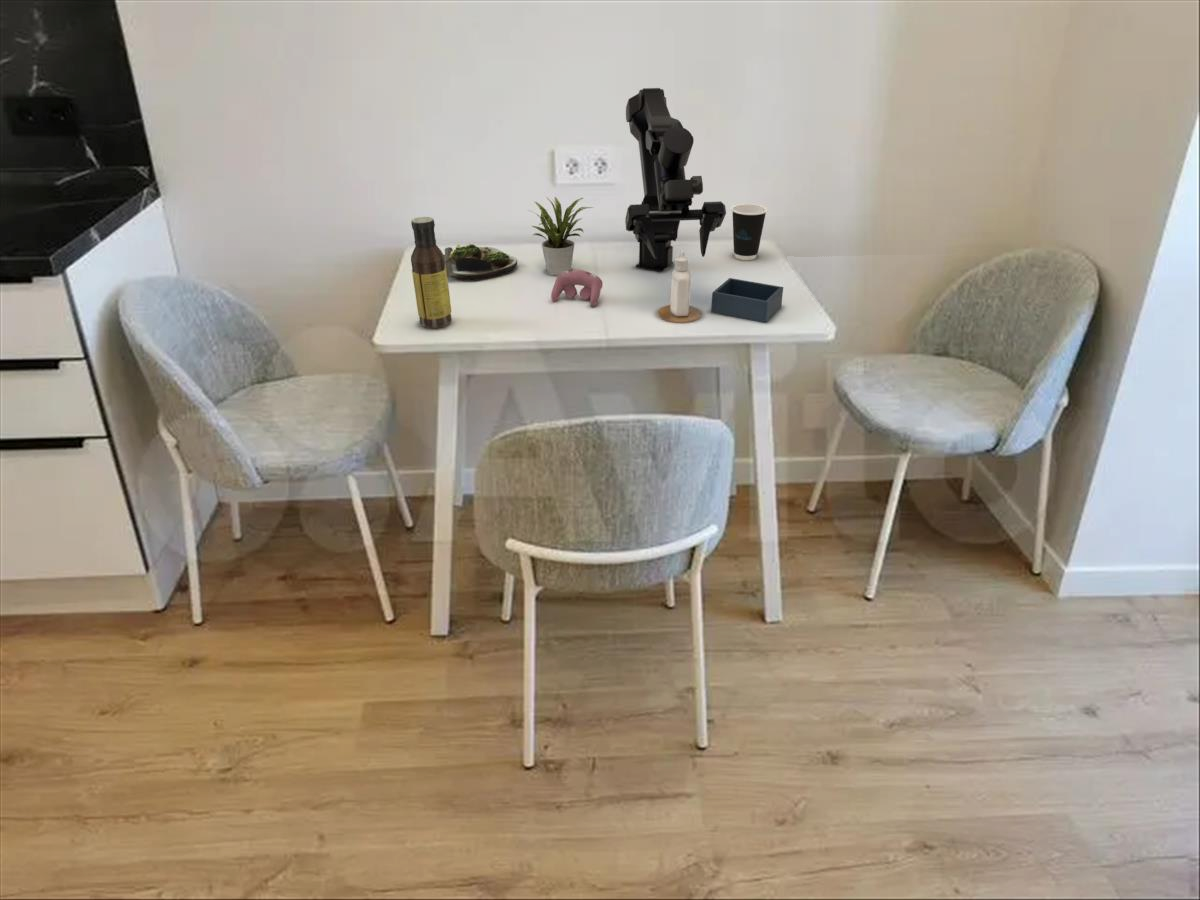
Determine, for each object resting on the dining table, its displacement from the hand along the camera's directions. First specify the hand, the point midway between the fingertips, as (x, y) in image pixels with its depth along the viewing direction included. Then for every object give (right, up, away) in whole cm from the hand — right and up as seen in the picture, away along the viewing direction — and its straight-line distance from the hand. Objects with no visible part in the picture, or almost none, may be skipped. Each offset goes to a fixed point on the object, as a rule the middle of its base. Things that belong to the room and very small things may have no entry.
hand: (679, 256), depth 168 cm
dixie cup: (+18, +7, +34) cm, 39 cm away
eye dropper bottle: (0, -10, +4) cm, 11 cm away
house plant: (-23, +2, +26) cm, 34 cm away
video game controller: (-20, -7, +11) cm, 23 cm away
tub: (+14, -9, +6) cm, 17 cm away
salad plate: (-43, +3, +27) cm, 51 cm away
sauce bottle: (-47, -13, +1) cm, 48 cm away
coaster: (0, -10, +4) cm, 11 cm away
